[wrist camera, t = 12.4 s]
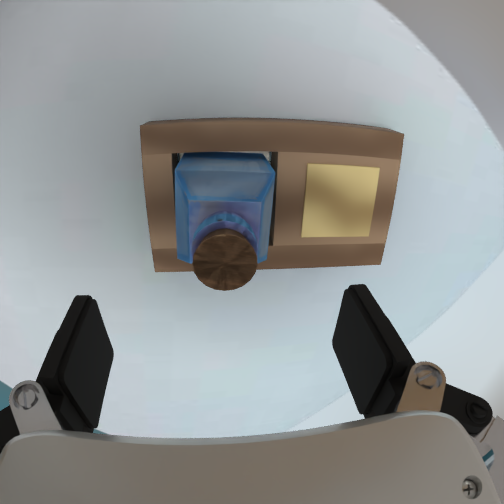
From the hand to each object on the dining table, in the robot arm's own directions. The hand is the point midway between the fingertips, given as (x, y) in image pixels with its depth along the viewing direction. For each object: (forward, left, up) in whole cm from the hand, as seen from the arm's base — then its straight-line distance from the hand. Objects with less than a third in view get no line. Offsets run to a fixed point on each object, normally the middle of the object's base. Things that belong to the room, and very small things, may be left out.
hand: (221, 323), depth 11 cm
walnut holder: (0, +4, -17) cm, 17 cm away
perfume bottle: (0, 0, -17) cm, 17 cm away
